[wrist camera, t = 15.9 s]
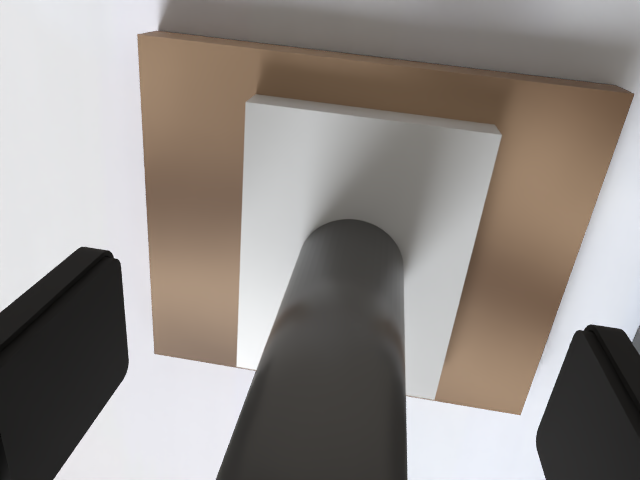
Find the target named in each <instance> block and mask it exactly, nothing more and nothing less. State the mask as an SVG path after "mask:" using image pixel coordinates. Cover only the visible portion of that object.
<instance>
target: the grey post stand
mask: <svg viewBox="0 0 640 480" xmlns="http://www.w3.org/2000/svg"><path fill="white" fill-rule="evenodd" d="M501 137H502V134H501V133H500V131H499V130H498V128H497V127H496V126H495V125H494V124H486V123H478V122H470V121H462V120H455V119H447V118H439V117H431V116H423V115H415V114H407V113H400V112H392V111H384V110H376V109H368V108H360V107H352V106H345V105H337V104H329V103H321V102H313V101H305V100H297V99H290V98H282V97H274V96H266V95H258V94H255V95H254V96H253V97H251V98H250V99H249V100H247V101H246V105H245V134H244V163H243V192H242V221H241V250H240V279H239V308H238V337H237V366H236V367H240V368H246V369H252V370H256V372H255V375H254V378H253V380H252V383H251V386H250V389H249V391H248V394H247V397H246V399H245V402H244V405H243V407H242V410H241V413H240V416H239V418H238V421H237V424H236V426H235V429H234V432H233V435H232V437H231V440H230V443H229V445H228V448H227V451H226V453H225V456H224V459H223V462H222V464H221V467H220V470H219V472H218V475H217V478H216V480H407V433H406V395H407V396H413V397H419V398H425V399H431V400H435V396H436V392H437V388H438V384H439V380H440V376H441V372H442V368H443V364H444V360H445V356H446V352H447V349H448V345H449V341H450V337H451V333H452V329H453V325H454V321H455V317H456V313H457V309H458V305H459V301H460V298H461V294H462V290H463V286H464V282H465V278H466V274H467V270H468V266H469V262H470V258H471V254H472V250H473V247H474V243H475V239H476V235H477V231H478V227H479V223H480V219H481V215H482V211H483V207H484V203H485V199H486V196H487V192H488V188H489V184H490V180H491V176H492V172H493V168H494V164H495V160H496V156H497V152H498V148H499V145H500V141H501Z"/></svg>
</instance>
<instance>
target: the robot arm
mask: <svg viewBox="0 0 640 480" xmlns="http://www.w3.org/2000/svg"><path fill="white" fill-rule="evenodd" d="M128 364H129V359H128V347H127V334H126V322H125V310H124V297H123V285H122V273H121V264H120V261H119V260H118V259H114V257H113V254H112V253H111V252H110V251H108V250H101V249H95V248H88V247H80V248H79V249H77V250H76V251H75V252H74V253H72V254H71V255H70V256H69V257H67V258H66V259H65V260H64V261H63V262H61V263H60V264H59V265H58V266H56V267H55V268H54V269H53V270H52V271H50V272H49V273H48V274H47V275H46V276H44V277H43V278H42V279H41V280H39V281H38V282H37V283H36V284H35V285H33V286H32V287H31V288H30V289H28V290H27V291H26V292H25V293H24V294H22V295H21V296H20V297H19V298H18V299H16V300H15V301H14V302H13V303H11V304H10V305H9V306H8V307H7V308H5V309H4V310H3V311H2V312H1V313H0V480H53V479H54V478H55V476H56V475H57V473H58V472H59V471H60V469H61V468H62V466H63V465H64V463H65V462H66V461H67V459H68V458H69V456H70V455H71V453H72V452H73V451H74V449H75V448H76V446H77V445H78V443H79V442H80V441H81V439H82V438H83V436H84V435H85V433H86V432H87V430H88V429H89V428H90V426H91V425H92V423H93V422H94V420H95V419H96V418H97V416H98V415H99V413H100V412H101V410H102V409H103V408H104V406H105V405H106V403H107V402H108V400H109V399H110V398H111V396H112V395H113V393H114V392H115V390H116V389H117V388H118V386H119V385H120V383H121V382H122V380H123V379H124V377H125V375H126V373H127V369H128ZM536 447H537V451H538V455H539V458H540V461H541V465H542V468H543V471H544V475H545V478H546V480H640V355H639V353H638V351H637V350H636V348H635V347H634V345H633V344H632V342H631V341H630V339H629V338H628V336H627V335H626V333H625V332H624V331H623V330H621V329H617V328H611V327H604V326H598V325H588V326H587V327H586V328H585V329H584V331H582V330H578V331H576V333H575V334H574V336H573V338H572V341H571V344H570V346H569V349H568V352H567V354H566V357H565V359H564V362H563V365H562V367H561V370H560V373H559V375H558V378H557V380H556V383H555V386H554V388H553V391H552V394H551V396H550V399H549V401H548V404H547V407H546V409H545V412H544V415H543V417H542V420H541V422H540V425H539V428H538V431H537V436H536Z"/></svg>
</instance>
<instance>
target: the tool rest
mask: <svg viewBox="0 0 640 480" xmlns="http://www.w3.org/2000/svg"><path fill="white" fill-rule="evenodd" d="M137 36H138V55H139V74H140V92H141V111H142V130H143V149H144V167H145V186H146V205H147V224H148V242H149V261H150V280H151V299H152V317H153V336H154V354H158V355H164V356H170V357H176V358H182V359H188V360H194V361H200V362H206V363H212V364H218V365H224V366H230V367H236V366H237V337H238V308H239V279H240V250H241V221H242V192H243V163H244V134H245V105H246V101H247V100H249V99H250V98H251V97H253V96H254V95H255V94H258V95H266V96H274V97H282V98H290V99H297V100H305V101H313V102H321V103H329V104H337V105H345V106H352V107H360V108H368V109H376V110H384V111H392V112H400V113H407V114H415V115H423V116H431V117H439V118H447V119H455V120H462V121H470V122H478V123H486V124H494V125H495V126H496V127H497V128H498V130H499V131H500V133H501V134H502V137H501V141H500V145H499V148H498V152H497V156H496V160H495V164H494V168H493V172H492V176H491V180H490V184H489V188H488V192H487V196H486V199H485V203H484V207H483V211H482V215H481V219H480V223H479V227H478V231H477V235H476V239H475V243H474V247H473V250H472V254H471V258H470V262H469V266H468V270H467V274H466V278H465V282H464V286H463V290H462V294H461V298H460V301H459V305H458V309H457V313H456V317H455V321H454V325H453V329H452V333H451V337H450V341H449V345H448V349H447V352H446V356H445V360H444V364H443V368H442V372H441V376H440V380H439V384H438V388H437V392H436V396H435V400H433V401H439V402H445V403H451V404H457V405H463V406H469V407H475V408H481V409H487V410H493V411H499V412H505V413H511V414H517V415H521V412H522V409H523V406H524V404H525V401H526V398H527V395H528V392H529V390H530V387H531V384H532V381H533V378H534V375H535V373H536V370H537V367H538V364H539V361H540V359H541V356H542V353H543V350H544V347H545V344H546V342H547V339H548V336H549V333H550V330H551V328H552V325H553V322H554V319H555V316H556V313H557V311H558V308H559V305H560V302H561V299H562V297H563V294H564V291H565V288H566V285H567V283H568V280H569V277H570V274H571V271H572V268H573V266H574V263H575V260H576V257H577V254H578V252H579V249H580V246H581V243H582V240H583V237H584V235H585V232H586V229H587V226H588V223H589V221H590V218H591V215H592V212H593V209H594V206H595V204H596V201H597V198H598V195H599V192H600V190H601V187H602V184H603V181H604V178H605V176H606V173H607V170H608V167H609V164H610V161H611V159H612V156H613V153H614V150H615V147H616V145H617V142H618V139H619V136H620V133H621V130H622V128H623V125H624V122H625V119H626V116H627V114H628V111H629V108H630V105H631V102H632V100H633V97H634V94H633V93H631V92H629V91H627V90H625V89H623V88H620V87H618V86H616V85H609V84H601V83H592V82H584V81H575V80H567V79H559V78H550V77H542V76H533V75H525V74H517V73H508V72H500V71H491V70H483V69H474V68H466V67H458V66H449V65H441V64H432V63H424V62H416V61H407V60H399V59H390V58H382V57H373V56H365V55H357V54H348V53H340V52H331V51H323V50H315V49H306V48H298V47H289V46H281V45H273V44H264V43H256V42H247V41H239V40H230V39H222V38H214V37H205V36H197V35H188V34H180V33H172V32H163V31H153V32H148V33H143V34H137ZM236 368H240V367H236ZM242 369H246V368H242ZM248 370H252V369H248ZM254 371H256V370H254ZM406 396H407V395H406ZM409 397H413V396H409ZM415 398H419V397H415ZM421 399H425V398H421ZM427 400H431V399H427Z"/></svg>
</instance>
